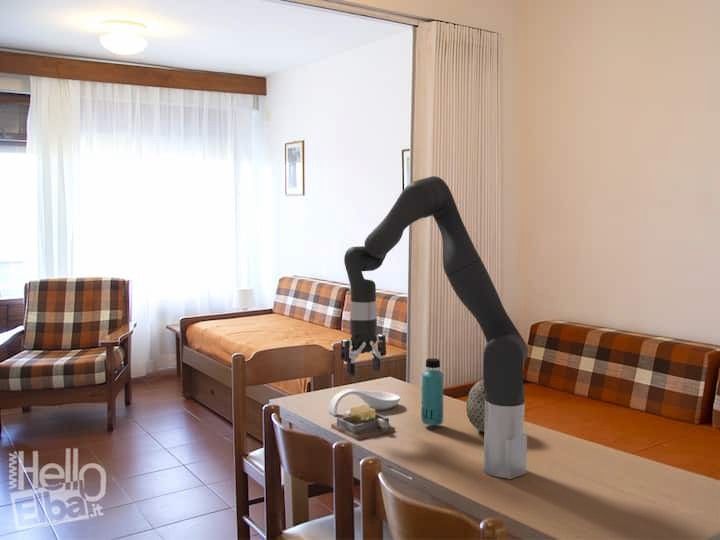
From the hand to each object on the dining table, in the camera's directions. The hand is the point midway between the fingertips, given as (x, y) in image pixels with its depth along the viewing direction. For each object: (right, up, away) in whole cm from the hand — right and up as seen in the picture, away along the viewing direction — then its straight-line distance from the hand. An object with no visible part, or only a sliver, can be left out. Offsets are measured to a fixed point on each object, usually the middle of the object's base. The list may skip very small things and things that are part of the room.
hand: (363, 373), depth 187 cm
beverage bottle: (+20, -16, +4) cm, 26 cm away
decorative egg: (+35, -17, 0) cm, 39 cm away
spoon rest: (+1, -15, +20) cm, 25 cm away
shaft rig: (0, -16, +1) cm, 16 cm away
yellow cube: (0, -15, +1) cm, 15 cm away
